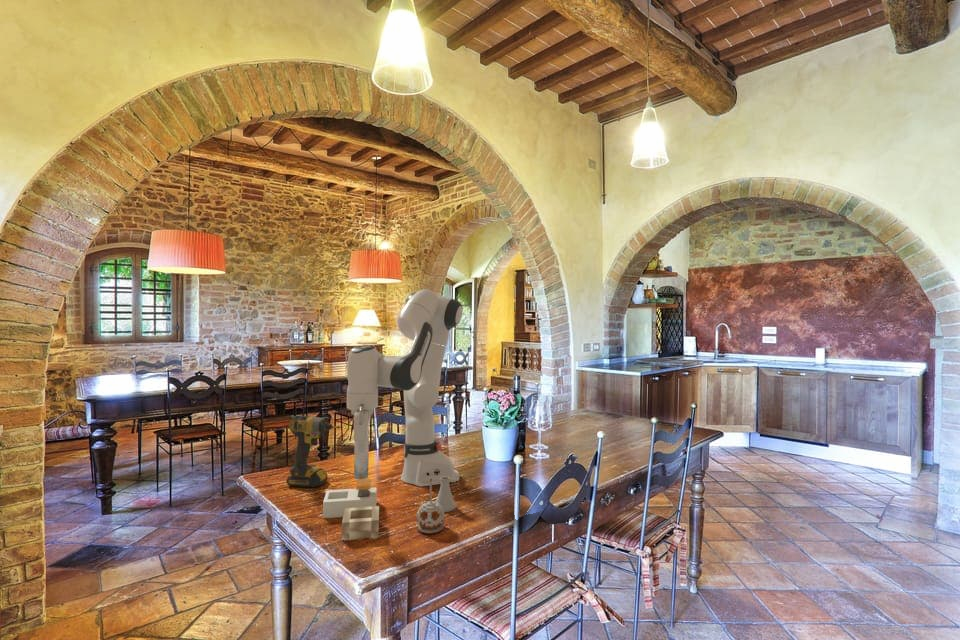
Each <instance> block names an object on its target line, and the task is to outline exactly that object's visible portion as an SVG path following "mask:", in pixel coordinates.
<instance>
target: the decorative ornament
mask: <svg viewBox="0 0 960 640" xmlns="http://www.w3.org/2000/svg"><path fill="white" fill-rule="evenodd" d="M435 502H436V500H435V501H433V485H432V478H430V485H429V501H426V502H424V503H423V504H421V505H420V506H419V508H418V510H417V512H416V522H418V523H417V525H416V529H418V530H417V531H419V532H421V533H425V534H434V533H438V532H440V531H442V530H443V529H444V528H445V523H443V522H444V521H445V512H444V511H443V509H442V507H441V505H439V503H435Z"/></svg>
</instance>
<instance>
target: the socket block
mask: <svg viewBox="0 0 960 640" xmlns="http://www.w3.org/2000/svg"><path fill="white" fill-rule="evenodd" d="M377 490H378V489H377V486H376V487H371V488H370V489H369V497H359V490H356V488H347V489H346V488H345V489H327V490H326V492H325V495H324V498H323V502H322V519H333V518H343V515H344V510H345V508H358V507H372V506H377V497H378V496H377V495H378V494H377V492H378V491H377Z"/></svg>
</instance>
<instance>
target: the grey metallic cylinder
mask: <svg viewBox="0 0 960 640" xmlns="http://www.w3.org/2000/svg"><path fill="white" fill-rule="evenodd" d="M369 443H370V435H369V434H368V438H367V441H365V451H364V452H358V442H355V441H354V449H353V451H354V461H353V463H354V465H353V467H354V468H353V469H354V470H353V478H354V479H356V480H363V479H369V458H370V457H369V454H370V452H369V450H370V449H369V448H370V447H369V445H370V444H369Z"/></svg>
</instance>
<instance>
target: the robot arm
mask: <svg viewBox="0 0 960 640" xmlns="http://www.w3.org/2000/svg"><path fill="white" fill-rule="evenodd" d="M463 310H464V308H463V305H462V303H461V302H460V301H459V300H457V299H454V298H450V297H446V296H443V295H439V294H436V293H435V292H434V291H432V290H430V289H427V288H426V289H425V288H422V289H419V290H418V291H415V292H412V293H411V294H409V295H408V296H407V298H406V300H405V303H404V305H403V306H402V308H401V310H400V311H399V313H398V315H397V319H396V321H397V322H396V323H397V327H398V330H399V331H400V332H401V334H402V335H403V336H404V337H405V338H407V339H409V340H412V343H411V346H410V347H409V351H408V353H406V354H404V355H401V356H400V355H399V356H397V355H386V354H385V355H384V354H383V353H381V352H379V351H378V349H377V347H376V346H375V345H372V344H371V345H370V344H369V345H368V344H364V345H358V346H354V347H353V348H351V349H350V351H349V354H348V357H347V358H348V359H347V366H346V379H347V381H348V385H347V388H346V409H348V410H350V412H351V413H350V414H351V415H353V416H354V417H353V441H354V443H355V442H358V452H364V451H365V441H367V438H368V435H369V430H370V424H371V417H372V414H373V413H374V409H377V408H378V407H379V389H378V387H382V388H389V389H397V390H403V403H404V418H405V440H404V444H403V455H404V464H403V468H402V474H401V477H400V480H401V481H402V482H404V483H406V484H411V485H415V486H417V487H427V486H429V487H430V478H432V486H434V485H441V480H440V478H441V477H444V476H445V477H450V480H449V484H451V483H457V482H458V481H460V473H459V472H458V470H456V469H455V468H454V463H453V461H452V459H451V458H450V457H449V456H448V455H446V454H445V453H443V451H441V450H442V448H443V447H442V444H441V443H440V442H438V441H437V440H435V418H434V412H433V411H434V410H433V407H434V406H435V405H436V404H437V403H438V401H439V397H440V394H439V391H440V385H441V376H442V366H443V362H444V357H445V354H446V352H447V351H446V350H447V345H448V342H449V338H450V337H449V335H450V331H451V330H452V328H455V327H457V326H459V324H460V322H461V320H462V317H463ZM456 481H457V482H456ZM450 482H451V483H450Z"/></svg>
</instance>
